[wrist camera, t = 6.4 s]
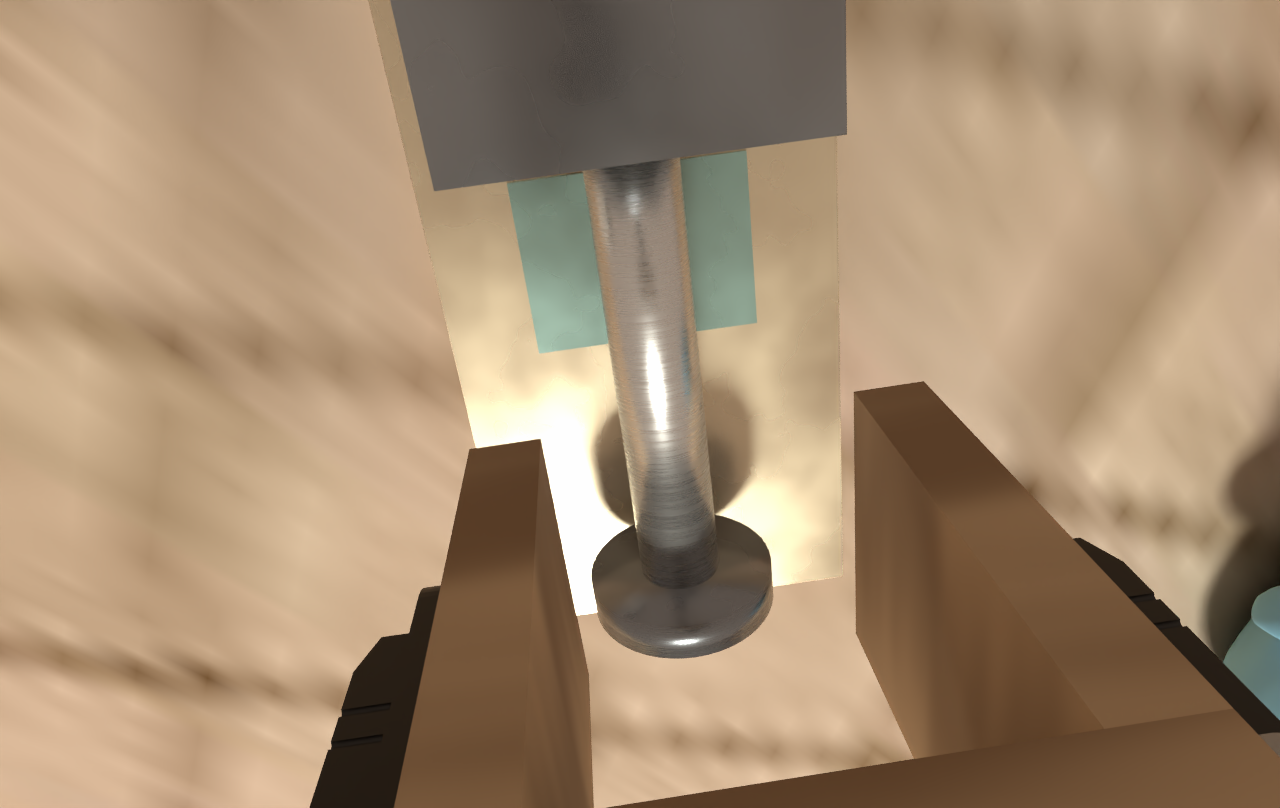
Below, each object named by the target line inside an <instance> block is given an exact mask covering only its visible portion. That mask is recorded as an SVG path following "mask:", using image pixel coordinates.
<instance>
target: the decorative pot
mask: <svg viewBox="0 0 1280 808" xmlns="http://www.w3.org/2000/svg"><path fill="white" fill-rule="evenodd" d="M1251 616H1252V618H1251V620H1250V621H1249V622H1248V623H1247V625H1246V626H1245V627H1244V628H1243V630H1242V631H1241V632H1240V633H1239V635H1238V637H1237V638H1236V640H1235V641H1234V643H1233V644H1232V646H1231V647H1230V649H1229V650H1228V652H1227V654H1226V656H1225V659H1224V661H1223V663H1224V664H1225V665H1226V666H1227V667H1228V668H1229V669H1230V670H1231V671H1232V672H1233V673H1234V674H1235V675H1236V677H1237V678H1238V679H1239V680H1240V681H1241V682H1242V683H1243V684H1244V685H1245V686H1246V687H1247V688H1248V689H1249V690H1250V691H1251V692H1252V693H1253V694H1254V695H1255V696H1256V697H1257V698H1258V699H1259V700H1260V701H1261V702H1262V703H1263V704H1264V705H1265V706H1266V707H1267V708H1268V709H1269V710H1270V711H1271V712H1272V713H1273V714H1274V715H1275V716H1276V717H1277V718H1278V719H1279V720H1280V586H1276V587H1273V588H1271V589H1269V590H1267V591H1265V592H1263V593H1262V594H1260V595H1259V596H1257V598H1256V600H1255V601H1254V604H1253V606H1252V611H1251Z"/></svg>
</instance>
